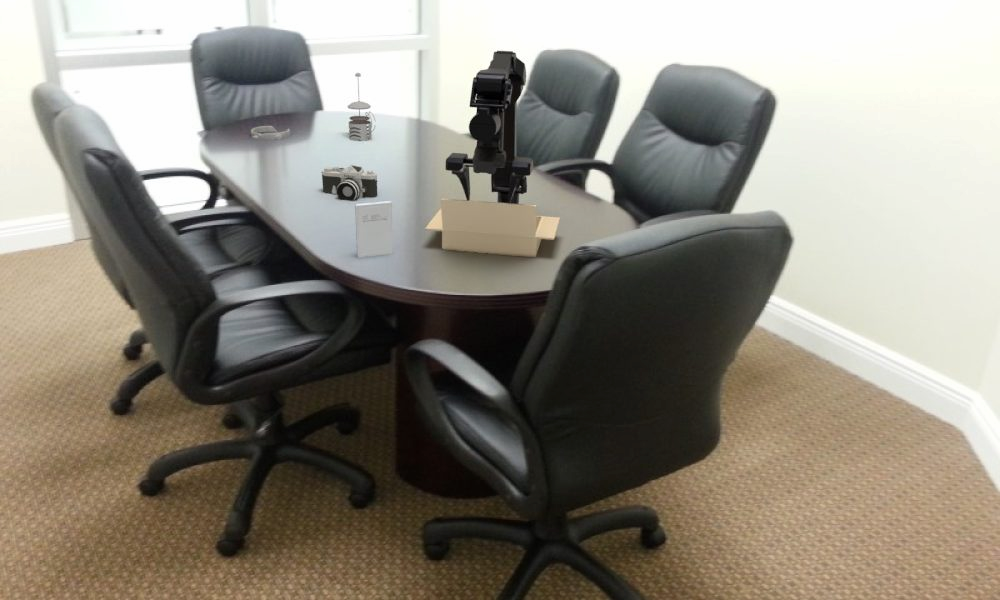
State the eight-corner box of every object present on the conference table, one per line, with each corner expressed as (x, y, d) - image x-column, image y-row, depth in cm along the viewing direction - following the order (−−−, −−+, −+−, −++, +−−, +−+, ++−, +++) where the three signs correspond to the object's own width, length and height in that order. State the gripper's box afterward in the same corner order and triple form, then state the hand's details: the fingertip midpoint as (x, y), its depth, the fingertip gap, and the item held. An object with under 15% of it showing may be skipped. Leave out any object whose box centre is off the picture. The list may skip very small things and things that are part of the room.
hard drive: (356, 256, 184) (354, 203, 179) (391, 252, 187) (390, 200, 182) (358, 258, 182) (356, 205, 178) (393, 254, 186) (392, 202, 181)
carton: (440, 227, 204) (440, 208, 202) (558, 236, 200) (560, 217, 198) (425, 248, 190) (425, 228, 188) (552, 258, 186) (554, 238, 184)
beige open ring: (260, 138, 294) (259, 124, 292) (297, 140, 292) (296, 126, 290) (243, 146, 281) (242, 132, 279) (281, 149, 279) (280, 134, 277)
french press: (360, 141, 294) (357, 70, 284) (384, 145, 287) (382, 73, 278) (340, 145, 286) (337, 72, 276) (364, 150, 280) (361, 76, 270)
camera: (314, 201, 222) (312, 166, 218) (326, 193, 230) (324, 158, 226) (369, 206, 220) (368, 170, 216) (380, 198, 228) (378, 163, 224)
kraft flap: (441, 198, 182) (440, 199, 182) (536, 205, 179) (536, 206, 179) (442, 228, 187) (442, 229, 187) (535, 235, 184) (535, 236, 184)
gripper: (439, 137, 169) (439, 209, 175) (528, 142, 167) (525, 215, 173) (451, 127, 179) (450, 195, 185) (534, 132, 177) (531, 201, 183)
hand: (488, 201), depth 181 cm, fingers open, 9 cm apart
